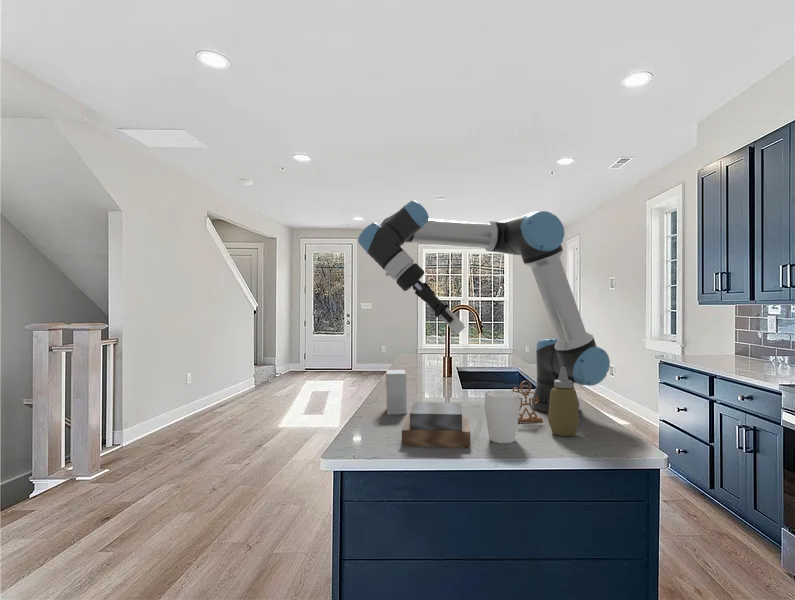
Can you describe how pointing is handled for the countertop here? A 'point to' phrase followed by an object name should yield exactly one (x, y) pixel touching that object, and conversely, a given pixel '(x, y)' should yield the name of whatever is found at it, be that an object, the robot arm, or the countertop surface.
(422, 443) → the stepped display pedestal
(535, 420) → the gingerbread man figurine
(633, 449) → the countertop surface
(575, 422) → the squeeze bottle
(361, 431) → the countertop surface
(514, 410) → the cup
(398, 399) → the small box
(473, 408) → the countertop surface
